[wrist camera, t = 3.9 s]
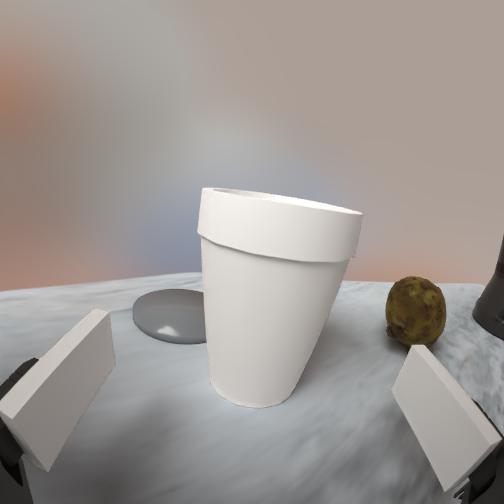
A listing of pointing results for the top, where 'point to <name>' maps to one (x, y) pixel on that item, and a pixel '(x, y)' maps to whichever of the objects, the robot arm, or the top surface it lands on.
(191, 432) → the top surface
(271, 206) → the foam cup
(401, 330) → the potato
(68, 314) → the top surface
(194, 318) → the coaster
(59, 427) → the robot arm
